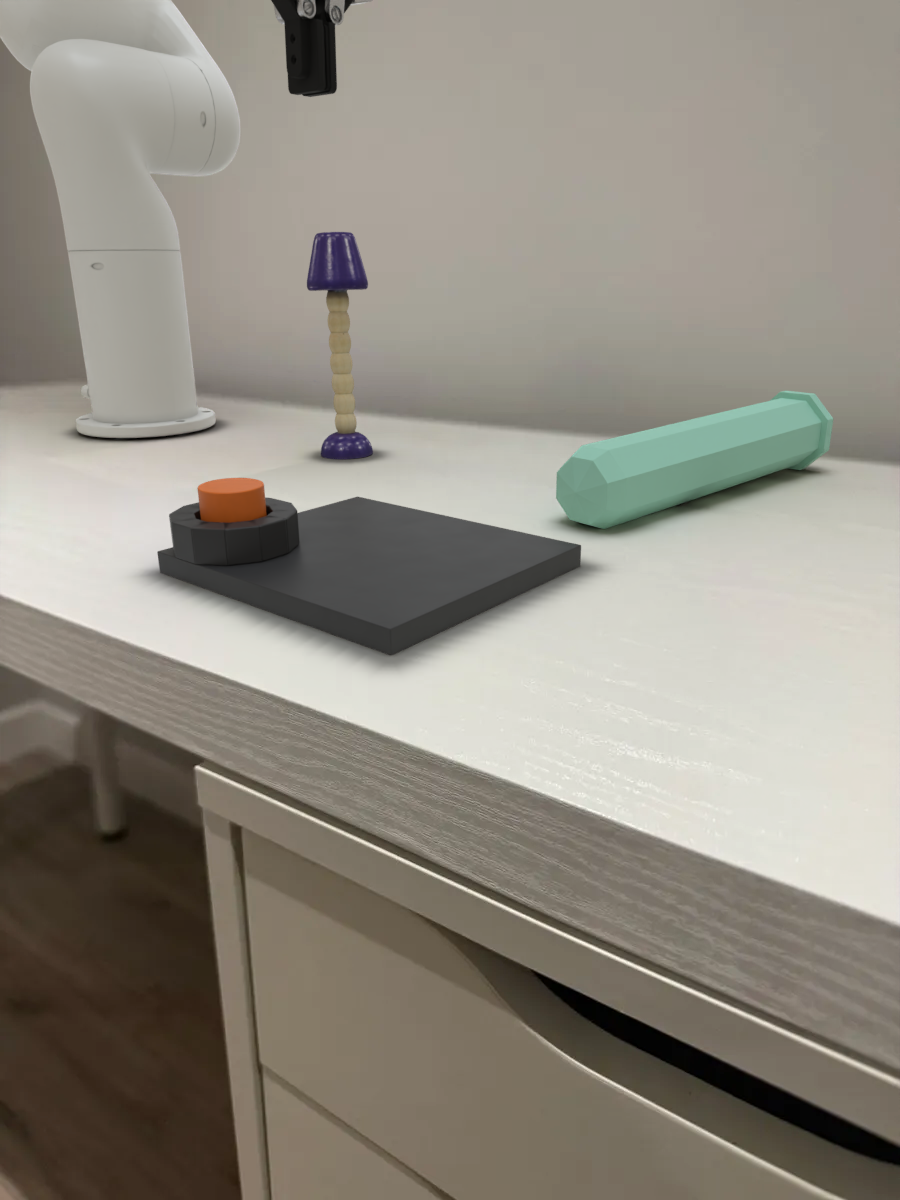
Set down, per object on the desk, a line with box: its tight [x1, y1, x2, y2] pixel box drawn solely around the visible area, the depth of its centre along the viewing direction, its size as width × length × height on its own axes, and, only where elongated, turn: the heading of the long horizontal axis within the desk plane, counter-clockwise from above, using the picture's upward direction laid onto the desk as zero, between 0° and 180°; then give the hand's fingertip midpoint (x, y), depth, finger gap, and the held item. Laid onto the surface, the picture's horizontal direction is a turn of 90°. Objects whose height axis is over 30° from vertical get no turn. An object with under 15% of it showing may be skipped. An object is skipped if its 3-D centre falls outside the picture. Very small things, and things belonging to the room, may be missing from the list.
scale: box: [157, 496, 582, 656], centre depth 44 cm, size 16×14×3 cm
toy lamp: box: [306, 231, 374, 460], centre depth 69 cm, size 5×5×17 cm
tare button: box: [196, 477, 267, 523], centre depth 44 cm, size 3×3×2 cm
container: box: [555, 390, 834, 530], centre depth 57 cm, size 6×6×25 cm
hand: (312, 93), depth 60 cm, fingers closed
